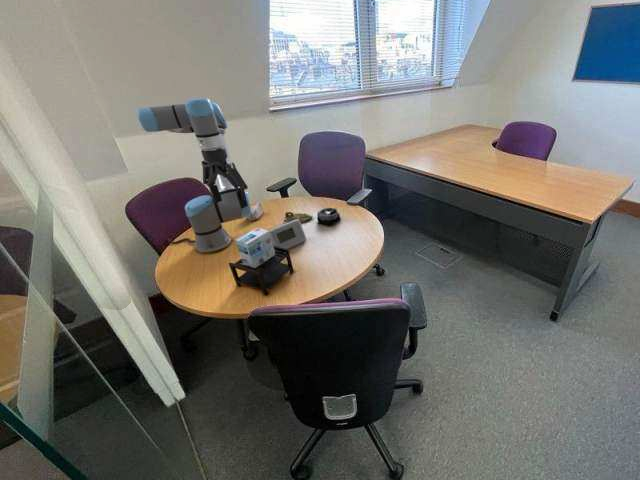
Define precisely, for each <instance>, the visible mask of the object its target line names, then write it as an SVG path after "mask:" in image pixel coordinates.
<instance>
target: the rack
mask: <svg viewBox="0 0 640 480" xmlns="http://www.w3.org/2000/svg"><path fill="white" fill-rule="evenodd" d="M273 247H274V251H275V250H277V251H275V255H274V256H273V257H271V258H270V259H268V260H267V261H265V262H264V263H262V264H260V265H259V266H257V267H256V268H252V267H250V266H248V265H245V264H243V261H242V258H240V259H239V260H237V261H235V262H231V261H230V262H228V265H229V269H230V271H231V274H232V276H233V279H234V282H235V284H236V287H238V288H239V287H241V286H242V285H243V286H248V287H250V288H253V289H256V290H258V291H261V292H262V294H263V296H265V297H267V296H268V295H269V291H268V290H269V289H270V288H271V287H272V286H273V285H274V284H276V283H277V282H278V281H279V280H280V279H281V278H283V277H284V276H285V275H286V274H287V273H288V272H289V273H290V274H293V273H294V271H295V269H294V267H293V261H292V258H291V254H290V249H285V248H281V247H277V246H273ZM279 251H280V252H279ZM285 259H286V262H287V263H284V262H283V261H284V260H285ZM237 270H239V271H243V272H244V273H242V274H241V275H240V276H239V274H238V271H237Z"/></svg>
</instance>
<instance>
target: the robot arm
mask: <svg viewBox="0 0 640 480" xmlns="http://www.w3.org/2000/svg"><path fill="white" fill-rule="evenodd" d="M136 115H137V119H138V121H139V123H140V125H141V128H142V129H143V130H144V132H147V133H154V132H155V133H158V132H165V131H166V132H169V133H176V134H194V135H195V138H196V140H197V143H198V146H199V149H200V150H201V151H200V152H201V155H202V158H203V160H202V161H201V165H202V184H203V185H206V186H207V187H208V188H209V191H210V193H211V195H209V194H208V195H200V196H197V197H195V198H192V199H191V200H189V201H188V202H186V203H185V205H184V211H185V215H186V217H187V219H188V221H189V223H190V225H191V228H192V230H193V232H194V236H195V237H194V238H195V239H194V240H191V239H190V238H189V237H184V238H181V239H179V240H176V241H172V240H171V239H170V238H169V237H167V238H165V241H166V242H167V241H168V242H169V243H170V244H174V245H175V244H180V243H181V242H183V241H188V243H191V244H193V243H195V249H196V251H197V252H198V253H199V254H212V253H213V254H214V253H218V252H219V251H222V250H224V249H226V248H227V247H229V246H230V245H231V243H232V238H231V235H230V234H229V232H228V231H226V229H225V228H224V227H223V224H224V223H228V222H232V221H237V220H241V219H244V218H247V217H248V216H250V215H251V209H250V207H251V202H250V198H249V192H248V191H246V190H248V189H249V187H248V185H247V183H246V182H245V180H244V179H243V177H242V176H241V174H240V171H238V169H237V166H236V164H235V163H234V162H232V160H231V157H230V154H229V151H228V146H227V144H226V141H225V138H224V136H225V134H226V129H228V124H227V122H226V120H225V116H224V114H223V112H222V110H221V108H220V107H219V105H218V103H216V102H211V100H210V99H209V98H207V97H196V98H189V99H186V100H185V101H184V103H178V104H170V105H169V104H168V105H158V106H146V107H141V108H138V109H137V110H136Z"/></svg>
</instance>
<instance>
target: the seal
mask: <svg viewBox="0 0 640 480" xmlns="http://www.w3.org/2000/svg"><path fill="white" fill-rule="evenodd" d="M296 219H299V221H300V223H301V224H302V223H306V222H309V221H310V220H312V219H313V216H311V215H310V214H308V213H301V212H299V213H294V212H292V211H286V212H285V213H284V220H285V221H286V223H287V222H290V221H293V220H296Z"/></svg>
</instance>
